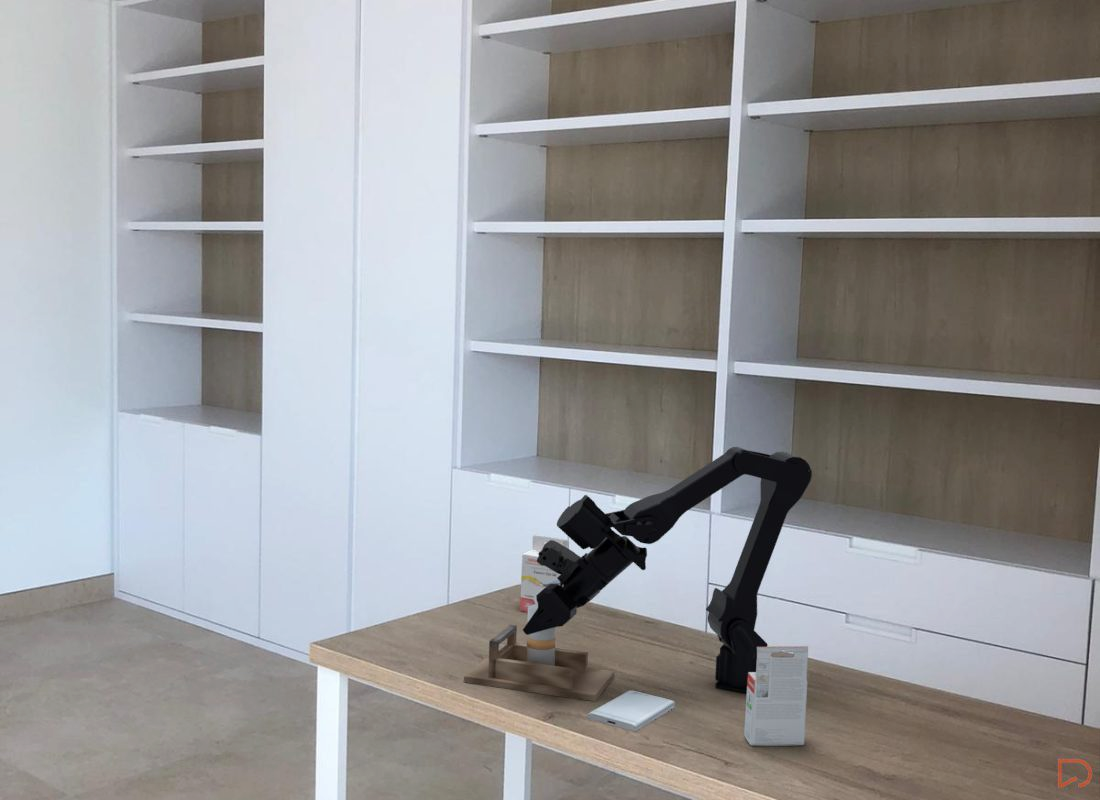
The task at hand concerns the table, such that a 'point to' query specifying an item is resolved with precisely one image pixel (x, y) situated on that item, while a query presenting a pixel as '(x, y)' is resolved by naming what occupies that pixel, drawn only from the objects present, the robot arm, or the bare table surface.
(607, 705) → the hard drive
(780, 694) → the ink box
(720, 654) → the robot arm
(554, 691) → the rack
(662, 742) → the table surface
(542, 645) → the white capped grey cylinder
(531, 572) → the ink cartridge box
